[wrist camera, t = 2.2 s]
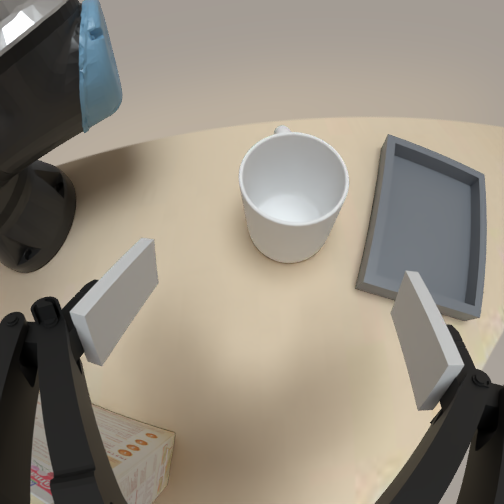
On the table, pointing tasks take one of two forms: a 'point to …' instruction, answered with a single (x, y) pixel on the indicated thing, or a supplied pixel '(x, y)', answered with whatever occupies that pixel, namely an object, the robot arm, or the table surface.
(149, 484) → the coffeecake box
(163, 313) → the table surface
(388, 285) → the tray
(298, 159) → the mug
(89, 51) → the robot arm
